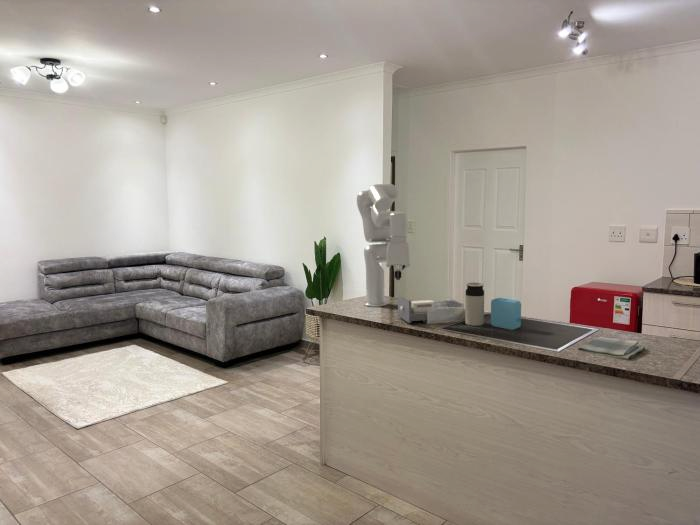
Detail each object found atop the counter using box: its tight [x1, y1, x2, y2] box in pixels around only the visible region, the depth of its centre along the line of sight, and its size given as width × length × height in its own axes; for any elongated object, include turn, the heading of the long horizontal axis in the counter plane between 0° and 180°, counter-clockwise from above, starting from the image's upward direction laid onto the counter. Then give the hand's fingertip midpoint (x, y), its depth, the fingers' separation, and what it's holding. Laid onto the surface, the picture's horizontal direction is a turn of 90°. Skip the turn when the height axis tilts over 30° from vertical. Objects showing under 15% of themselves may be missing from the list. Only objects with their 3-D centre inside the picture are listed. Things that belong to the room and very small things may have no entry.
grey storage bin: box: [422, 296, 465, 325], centre depth 247 cm, size 16×18×8 cm
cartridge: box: [411, 299, 435, 313], centre depth 245 cm, size 5×10×6 cm, turn 103°
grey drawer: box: [397, 294, 437, 324], centre depth 244 cm, size 15×18×10 cm
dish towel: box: [577, 336, 646, 361], centre depth 195 cm, size 19×18×3 cm
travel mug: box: [464, 281, 485, 327], centre depth 235 cm, size 8×8×18 cm
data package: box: [490, 297, 522, 331], centre depth 229 cm, size 12×4×12 cm, turn 43°
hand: (397, 279), depth 244 cm, fingers closed
